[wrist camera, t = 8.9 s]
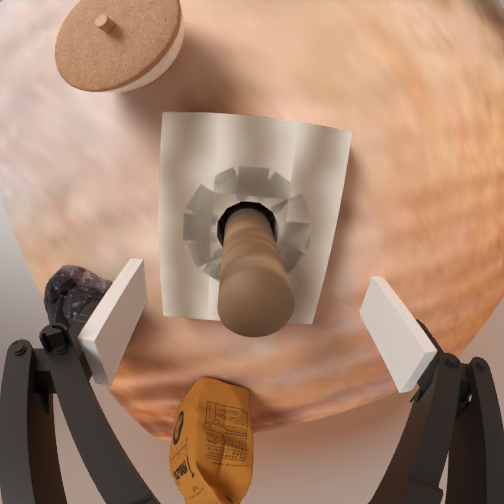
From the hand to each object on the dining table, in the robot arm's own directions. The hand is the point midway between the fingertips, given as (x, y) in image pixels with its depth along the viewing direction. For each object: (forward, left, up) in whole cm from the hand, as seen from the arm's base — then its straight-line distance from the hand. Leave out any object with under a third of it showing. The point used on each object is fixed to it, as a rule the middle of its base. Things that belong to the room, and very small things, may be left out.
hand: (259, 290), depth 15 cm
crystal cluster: (+19, +13, -14) cm, 27 cm away
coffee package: (+3, +29, -14) cm, 33 cm away
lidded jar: (+12, -17, -14) cm, 25 cm away
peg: (0, 0, -14) cm, 14 cm away
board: (0, 0, -14) cm, 14 cm away
